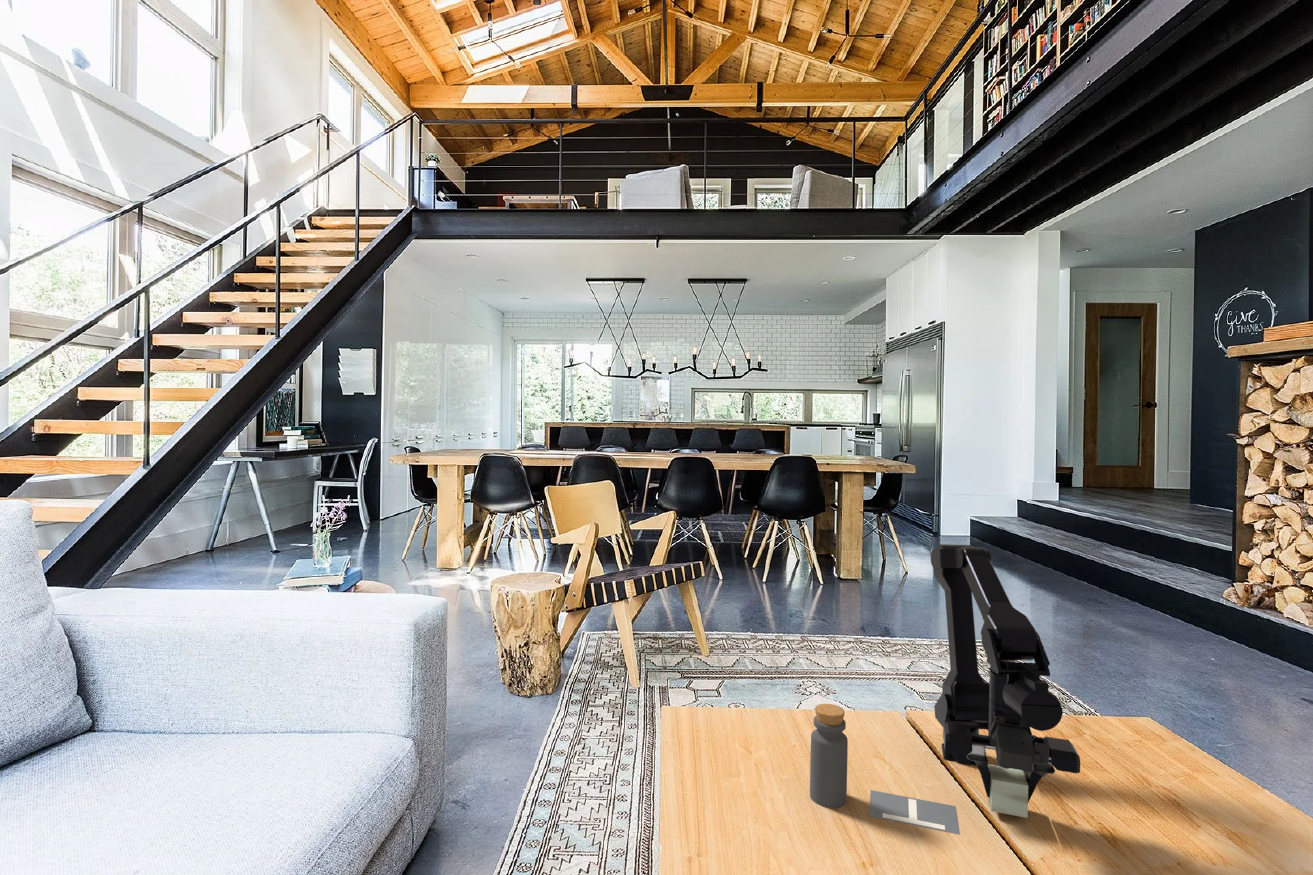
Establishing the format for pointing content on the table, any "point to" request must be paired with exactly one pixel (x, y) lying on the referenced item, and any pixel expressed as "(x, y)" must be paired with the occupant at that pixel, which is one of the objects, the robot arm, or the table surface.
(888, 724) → the table surface
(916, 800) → the letter tile
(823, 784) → the bottle
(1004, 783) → the green block
